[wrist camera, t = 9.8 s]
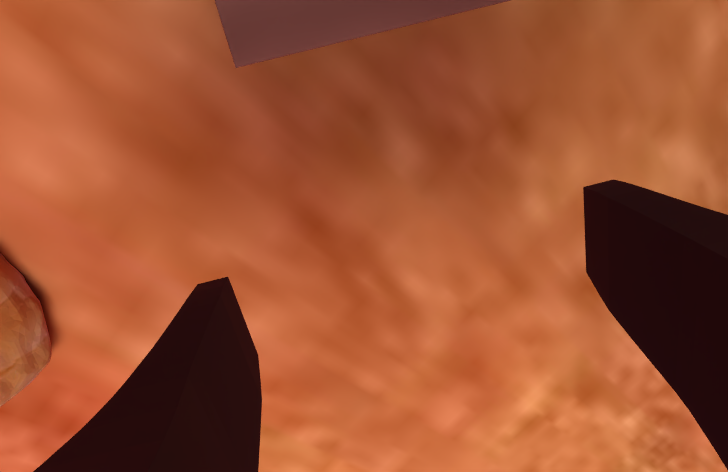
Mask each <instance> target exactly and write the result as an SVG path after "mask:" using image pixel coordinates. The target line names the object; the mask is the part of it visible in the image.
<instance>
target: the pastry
mask: <svg viewBox="0 0 728 472" xmlns="http://www.w3.org/2000/svg"><path fill="white" fill-rule="evenodd" d="M50 359H51V341H50V337H49V333H48V329H47V325H46V322H45V318H44V314H43V310H42V307H41V304H40V301H39V300H38V299H37V297H36V296H35V295H34V293H33V292H32V291H31V289H30V287H29V286H28V284H27V283H26V281H25V278H24V276H23V275H22V274H21V273H20V272H19V271H18V270H17V269H15V268H14V267H13V266H12V265H11V264H10V263H9V262H8V261H7V260H6V259H5V258H4V256H3V255H2V254H1V253H0V406H2V405H3V404H5V403H6V402H7V401H9V400H10V399H11V398H13V397H14V396H15V395H17V394H18V393H19V392H20V391H21V390H23V389H24V388H25V387H26V386H27V385H28V384H30V383H31V382H32V381H33V380H34V378H35V377H36V376H37V375H38V374H39V373H40V372H41V371H42V370H43V369H44V368H45V366H46V365H47V364H48V363H49V361H50Z"/></svg>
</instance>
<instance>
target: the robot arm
mask: <svg viewBox="0 0 728 472" xmlns="http://www.w3.org/2000/svg"><path fill="white" fill-rule="evenodd" d="M583 189H584V218H585V247H586V272H587V274H588V276H589V277H590V279H591V281H592V283H593V284H594V286H595V288H596V290H597V291H598V293H599V295H600V296H601V298H602V300H603V301H604V303H605V305H606V306H607V308H608V309H609V311H610V312H611V313H612V315H613V316H614V317H615V319H616V320H617V321H618V322H619V324H620V325H621V326H622V327H623V328H624V330H625V331H626V332H627V333H628V335H629V336H630V337H631V338H632V340H633V341H634V342H635V343H636V344H637V346H638V347H639V348H640V349H641V351H642V352H643V353H644V354H645V355H646V357H647V358H648V359H649V360H650V361H651V363H652V364H653V365H654V366H655V368H656V369H657V370H658V371H659V372H660V374H661V375H662V376H663V377H664V378H665V380H666V381H667V382H668V383H669V385H670V386H671V387H672V388H673V389H674V391H675V392H676V393H677V395H678V396H679V397H680V399H681V400H682V401H683V403H684V404H685V405H686V407H687V408H688V409H689V411H690V412H691V414H692V415H693V417H694V418H695V420H696V421H697V423H698V424H699V426H700V427H701V429H702V430H703V432H704V434H705V435H706V437H707V438H708V440H709V441H710V443H711V444H712V446H713V447H714V449H715V450H716V452H717V454H718V455H719V457H720V458H721V460H722V462H723V463H724V465H725V467H726V468H727V470H728V215H726V214H723V213H720V212H716V211H713V210H710V209H707V208H703V207H700V206H697V205H694V204H691V203H688V202H685V201H682V200H679V199H676V198H673V197H670V196H667V195H664V194H661V193H658V192H655V191H652V190H648V189H645V188H642V187H639V186H636V185H633V184H629V183H626V182H622V181H617V180H610V181H606V182H602V183H598V184H594V185H590V186H586V187H583ZM261 407H262V395H261V381H260V370H259V360H258V354H257V351H256V349H255V346H254V343H253V341H252V338H251V336H250V333H249V330H248V328H247V325H246V322H245V320H244V317H243V315H242V312H241V309H240V307H239V304H238V302H237V299H236V296H235V294H234V291H233V288H232V286H231V283H230V281H229V278H228V277H225V278H221V279H217V280H213V281H209V282H205V283H201V284H198V285H197V286H196V287H195V289H194V290H193V291H192V293H191V294H190V296H189V297H188V298H187V300H186V301H185V303H184V304H183V306H182V307H181V309H180V310H179V312H178V313H177V314H176V316H175V317H174V319H173V320H172V322H171V323H170V324H169V326H168V327H167V329H166V330H165V331H164V333H163V334H162V336H161V337H160V338H159V340H158V341H157V343H156V344H155V345H154V347H153V348H152V349H151V351H150V352H149V353H148V354H147V356H146V357H145V358H144V359H143V361H142V362H141V363H140V364H139V366H138V367H137V368H136V369H135V371H134V372H133V373H132V374H131V376H130V377H129V378H128V379H127V381H126V382H125V383H124V384H123V386H122V387H121V388H120V389H119V390H118V391H117V392H116V394H115V395H114V396H113V397H112V398H111V399H110V400H109V401H108V402H107V403H106V404H105V406H104V407H103V408H102V409H101V410H100V411H99V412H98V413H97V414H96V415H95V416H94V417H93V418H92V419H91V420H90V421H89V422H88V423H87V424H86V425H85V426H84V427H83V428H82V429H81V430H80V431H79V432H78V433H76V434H75V435H74V436H73V437H72V438H71V439H70V440H69V441H68V442H66V443H65V444H64V445H63V446H62V447H61V448H60V449H59V450H57V451H56V452H55V453H54V454H53V455H52V456H51V457H50V458H48V459H47V460H46V461H45V462H44V463H43V464H42V465H41V466H39V467H38V468H37V469H36V470H35V471H33V472H258V464H259V446H260V428H261Z"/></svg>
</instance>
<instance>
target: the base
mask: <svg viewBox="0 0 728 472" xmlns="http://www.w3.org/2000/svg"><path fill="white" fill-rule="evenodd" d="M506 1H510V0H215V3H216V6H217V9H218V12H219V16H220V19H221V22H222V25H223V28H224V32H225V35H226V38H227V41H228V44H229V48H230V51H231V54H232V57H233V60H234V64H235V67H236V68H238V67H242V66H246V65H250V64H254V63H258V62H262V61H266V60H270V59H274V58H278V57H282V56H286V55H290V54H294V53H299V52H303V51H307V50H311V49H315V48H319V47H323V46H327V45H331V44H335V43H339V42H343V41H347V40H351V39H355V38H359V37H364V36H368V35H372V34H376V33H380V32H384V31H388V30H392V29H396V28H400V27H404V26H408V25H412V24H416V23H420V22H424V21H429V20H433V19H437V18H441V17H445V16H449V15H453V14H457V13H461V12H465V11H469V10H473V9H477V8H481V7H485V6H489V5H494V4H498V3H502V2H506Z"/></svg>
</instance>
